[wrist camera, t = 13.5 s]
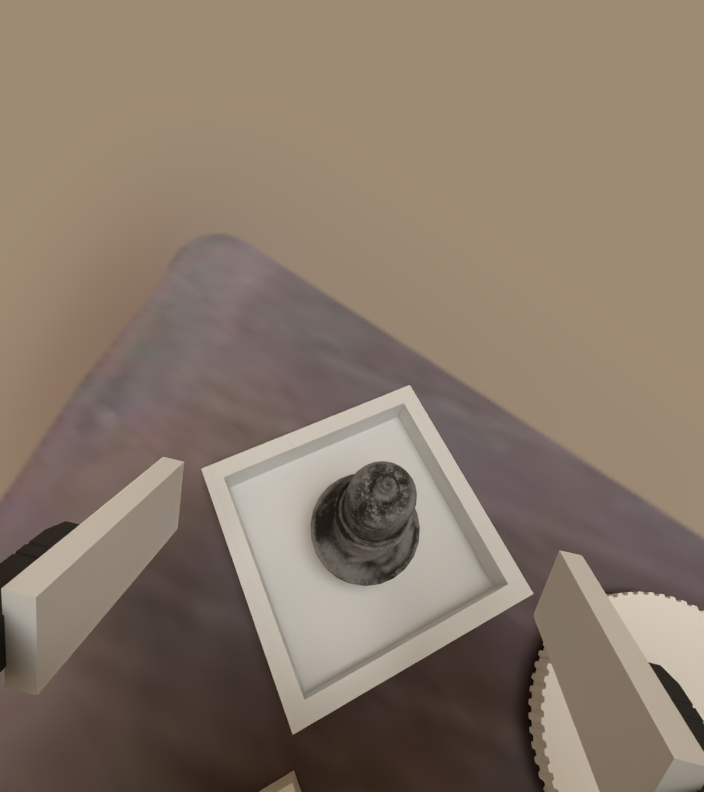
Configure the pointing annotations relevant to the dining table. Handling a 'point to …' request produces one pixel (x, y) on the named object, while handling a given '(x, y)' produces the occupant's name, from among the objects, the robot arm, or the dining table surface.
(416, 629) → the parts tray
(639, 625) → the cream gear
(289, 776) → the socket collar
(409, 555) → the chess piece
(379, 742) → the dining table surface
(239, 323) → the dining table surface
